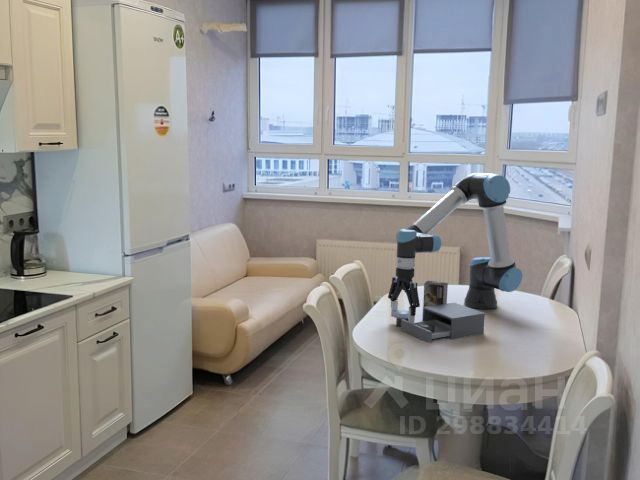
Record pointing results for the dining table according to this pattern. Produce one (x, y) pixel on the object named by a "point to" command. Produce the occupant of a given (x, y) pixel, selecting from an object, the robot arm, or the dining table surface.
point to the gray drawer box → (456, 319)
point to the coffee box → (435, 293)
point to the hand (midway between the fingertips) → (402, 319)
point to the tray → (426, 329)
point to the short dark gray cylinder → (399, 322)
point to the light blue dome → (401, 314)
